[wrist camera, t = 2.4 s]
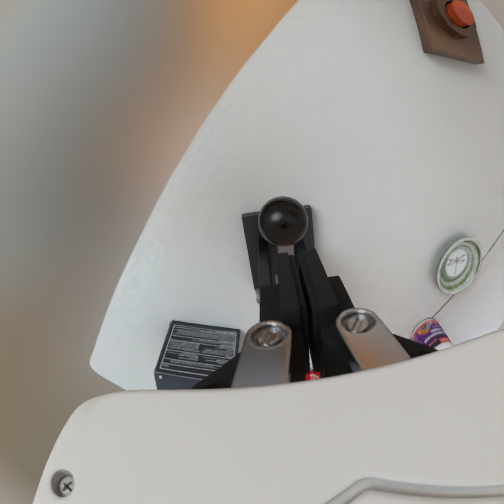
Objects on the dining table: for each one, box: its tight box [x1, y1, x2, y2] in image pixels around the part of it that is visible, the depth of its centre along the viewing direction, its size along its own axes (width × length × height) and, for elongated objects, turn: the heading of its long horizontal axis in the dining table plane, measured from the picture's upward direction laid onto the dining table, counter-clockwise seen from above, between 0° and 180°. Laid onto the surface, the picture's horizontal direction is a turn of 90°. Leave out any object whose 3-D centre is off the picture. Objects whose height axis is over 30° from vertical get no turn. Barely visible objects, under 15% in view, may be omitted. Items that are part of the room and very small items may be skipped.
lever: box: [258, 196, 308, 284], centre depth 22 cm, size 13×3×3 cm, turn 9°
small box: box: [154, 321, 240, 390], centre depth 37 cm, size 11×6×10 cm, turn 83°
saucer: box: [436, 237, 482, 295], centre depth 34 cm, size 10×10×2 cm
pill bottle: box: [412, 318, 453, 350], centre depth 37 cm, size 5×5×10 cm
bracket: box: [242, 205, 314, 303], centre depth 30 cm, size 10×8×12 cm
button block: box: [410, 0, 484, 64], centre depth 19 cm, size 12×10×4 cm
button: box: [446, 0, 474, 27], centre depth 16 cm, size 4×4×2 cm
